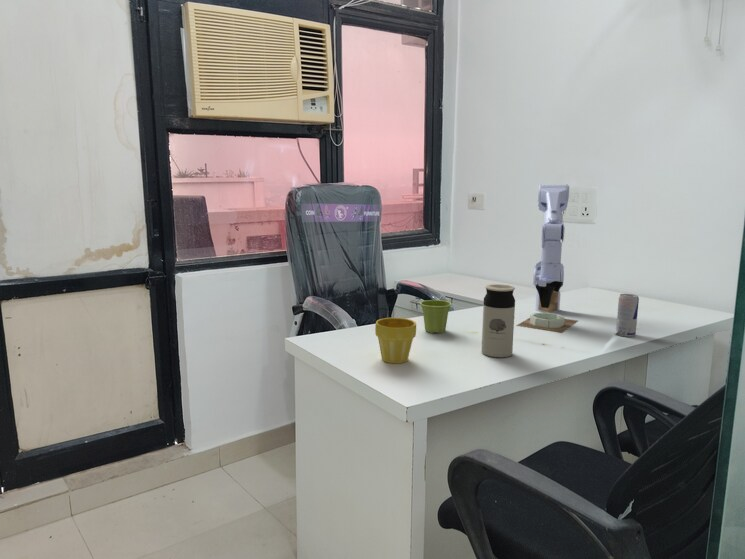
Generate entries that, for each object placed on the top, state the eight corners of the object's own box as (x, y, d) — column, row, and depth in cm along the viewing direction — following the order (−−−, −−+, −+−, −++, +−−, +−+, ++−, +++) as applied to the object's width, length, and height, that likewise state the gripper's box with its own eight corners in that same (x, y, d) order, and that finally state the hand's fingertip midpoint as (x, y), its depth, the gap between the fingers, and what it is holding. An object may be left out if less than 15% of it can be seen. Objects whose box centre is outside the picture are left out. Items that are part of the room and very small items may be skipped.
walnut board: (535, 317, 185) (535, 314, 185) (578, 323, 177) (578, 320, 177) (515, 328, 170) (515, 325, 170) (561, 336, 162) (561, 332, 162)
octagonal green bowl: (536, 318, 179) (537, 311, 179) (566, 322, 174) (567, 315, 173) (526, 324, 171) (526, 317, 171) (557, 329, 166) (558, 321, 166)
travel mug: (487, 347, 151) (490, 282, 148) (515, 352, 147) (519, 285, 144) (477, 355, 144) (480, 287, 141) (507, 360, 140) (510, 290, 137)
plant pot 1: (423, 361, 139) (424, 323, 137) (390, 368, 133) (390, 329, 131) (399, 350, 147) (400, 315, 146) (367, 357, 142) (367, 320, 140)
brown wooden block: (547, 308, 174) (548, 289, 173) (557, 311, 171) (558, 292, 170) (538, 309, 172) (539, 291, 171) (548, 312, 169) (549, 293, 168)
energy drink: (637, 334, 164) (641, 295, 162) (631, 338, 161) (635, 298, 158) (619, 331, 168) (622, 292, 166) (613, 334, 164) (616, 295, 162)
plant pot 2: (413, 330, 167) (413, 303, 165) (431, 325, 174) (432, 298, 172) (438, 337, 161) (439, 308, 159) (456, 330, 168) (457, 302, 166)
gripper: (545, 258, 177) (542, 300, 180) (529, 264, 166) (527, 308, 168) (567, 260, 173) (564, 303, 176) (553, 266, 162) (550, 311, 164)
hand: (548, 305), depth 172 cm, fingers closed on brown wooden block, 5 cm apart
